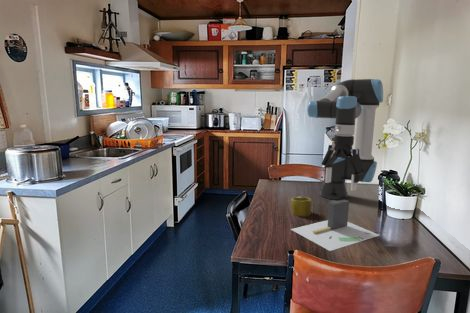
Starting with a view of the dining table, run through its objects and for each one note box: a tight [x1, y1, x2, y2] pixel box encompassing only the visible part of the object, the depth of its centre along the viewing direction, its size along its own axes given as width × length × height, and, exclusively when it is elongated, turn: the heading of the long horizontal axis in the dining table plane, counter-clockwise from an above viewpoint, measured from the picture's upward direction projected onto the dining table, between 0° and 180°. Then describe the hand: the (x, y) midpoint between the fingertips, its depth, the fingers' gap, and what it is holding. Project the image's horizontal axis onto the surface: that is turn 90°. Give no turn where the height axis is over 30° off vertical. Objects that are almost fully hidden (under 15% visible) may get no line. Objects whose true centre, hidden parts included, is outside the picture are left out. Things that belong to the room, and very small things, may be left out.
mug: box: [290, 196, 312, 217], centre depth 155 cm, size 12×10×10 cm
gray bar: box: [313, 199, 350, 233], centre depth 135 cm, size 18×3×11 cm, turn 120°
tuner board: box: [290, 219, 381, 252], centre depth 133 cm, size 28×22×1 cm
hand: (340, 186), depth 135 cm, fingers open, 13 cm apart
